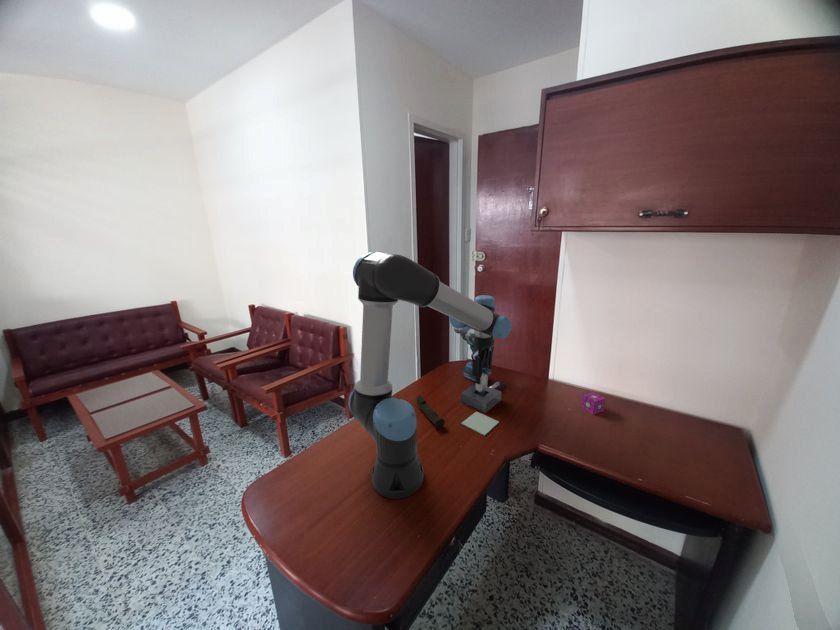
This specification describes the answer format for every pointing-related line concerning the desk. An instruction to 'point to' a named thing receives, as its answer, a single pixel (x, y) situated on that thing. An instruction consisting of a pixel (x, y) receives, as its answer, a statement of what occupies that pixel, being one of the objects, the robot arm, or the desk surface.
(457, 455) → the desk surface
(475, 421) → the mat
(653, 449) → the desk surface
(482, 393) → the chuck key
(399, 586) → the desk surface
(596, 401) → the puzzle toy
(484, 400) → the block
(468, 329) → the impact wrench
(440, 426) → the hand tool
